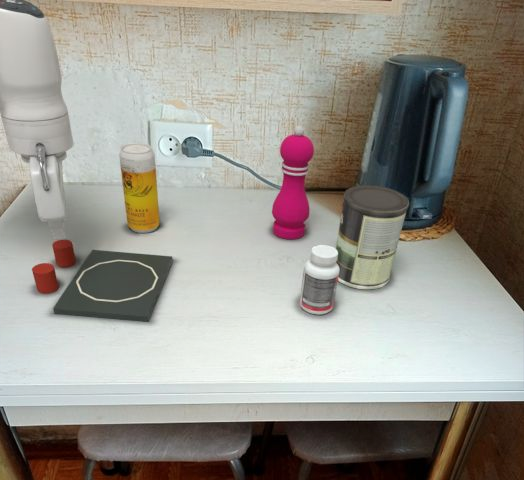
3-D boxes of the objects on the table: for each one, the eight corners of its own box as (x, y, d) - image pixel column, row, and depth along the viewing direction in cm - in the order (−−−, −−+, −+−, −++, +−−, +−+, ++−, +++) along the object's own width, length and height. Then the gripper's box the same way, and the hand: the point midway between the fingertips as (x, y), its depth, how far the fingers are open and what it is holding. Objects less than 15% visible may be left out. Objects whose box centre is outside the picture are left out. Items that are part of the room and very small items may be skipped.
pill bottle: (338, 313, 80) (348, 258, 73) (305, 317, 78) (313, 261, 72) (325, 294, 84) (334, 241, 77) (294, 298, 82) (301, 243, 76)
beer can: (121, 229, 97) (111, 149, 88) (140, 217, 101) (132, 139, 92) (147, 237, 95) (140, 156, 86) (166, 224, 100) (160, 146, 90)
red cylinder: (53, 266, 85) (48, 247, 83) (60, 257, 88) (56, 238, 85) (72, 268, 85) (68, 249, 83) (78, 259, 88) (75, 240, 85)
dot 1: (33, 292, 79) (28, 272, 77) (42, 281, 81) (36, 262, 79) (54, 294, 79) (49, 274, 77) (61, 283, 81) (57, 263, 79)
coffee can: (321, 277, 88) (333, 199, 79) (344, 254, 95) (358, 179, 86) (377, 297, 84) (397, 217, 75) (397, 271, 91) (417, 195, 82)
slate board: (54, 313, 75) (52, 307, 74) (93, 254, 89) (92, 249, 88) (148, 321, 75) (147, 315, 74) (172, 261, 89) (172, 255, 88)
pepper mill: (300, 244, 97) (313, 135, 84) (265, 235, 98) (272, 127, 86) (311, 228, 102) (325, 124, 89) (277, 221, 104) (286, 117, 91)
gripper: (65, 157, 66) (83, 252, 75) (60, 113, 81) (75, 196, 90) (13, 160, 65) (37, 256, 73) (17, 114, 79) (37, 199, 88)
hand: (58, 223), depth 82 cm, fingers open, 8 cm apart
